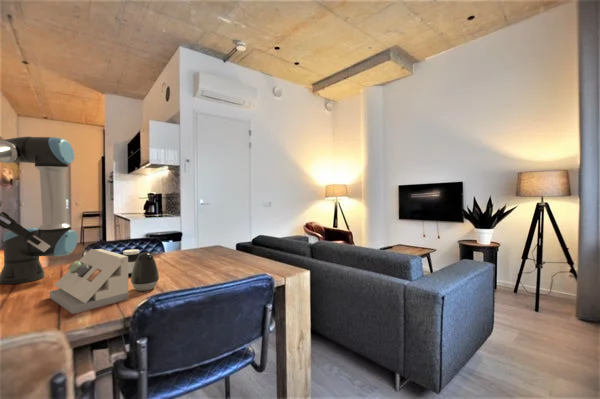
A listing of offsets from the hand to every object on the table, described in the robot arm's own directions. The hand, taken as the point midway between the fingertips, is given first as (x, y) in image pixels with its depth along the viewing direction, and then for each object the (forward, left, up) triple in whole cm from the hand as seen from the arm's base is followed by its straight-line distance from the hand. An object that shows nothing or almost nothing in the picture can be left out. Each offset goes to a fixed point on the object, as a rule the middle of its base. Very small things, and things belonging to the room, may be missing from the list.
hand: (46, 248), depth 106 cm
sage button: (0, +9, -11) cm, 14 cm away
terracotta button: (+17, +10, -12) cm, 23 cm away
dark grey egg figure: (+14, +28, -20) cm, 37 cm away
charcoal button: (+8, +9, -11) cm, 16 cm away
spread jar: (-15, +33, -20) cm, 41 cm away
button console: (+8, +11, -19) cm, 24 cm away
